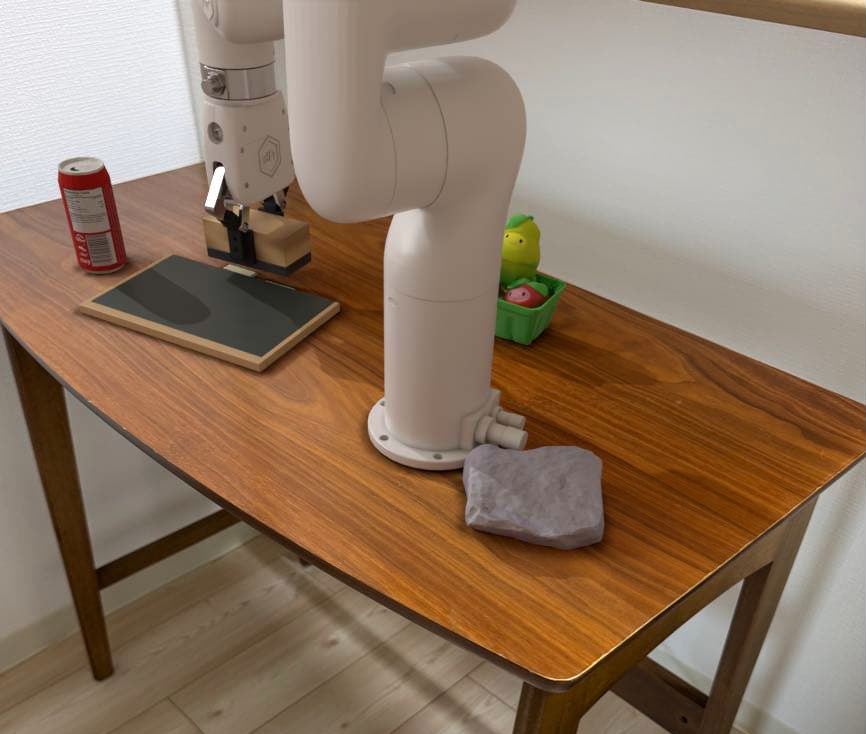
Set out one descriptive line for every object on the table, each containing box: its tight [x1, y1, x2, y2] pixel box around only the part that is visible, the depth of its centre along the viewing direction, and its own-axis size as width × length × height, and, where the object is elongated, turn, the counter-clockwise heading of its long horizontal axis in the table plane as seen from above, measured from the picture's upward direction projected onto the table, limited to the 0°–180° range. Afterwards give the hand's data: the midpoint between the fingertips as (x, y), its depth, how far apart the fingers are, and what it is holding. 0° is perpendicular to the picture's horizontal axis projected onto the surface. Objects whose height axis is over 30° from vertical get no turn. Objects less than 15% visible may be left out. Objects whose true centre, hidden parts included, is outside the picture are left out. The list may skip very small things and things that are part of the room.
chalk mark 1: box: [222, 264, 257, 278], centre depth 107 cm, size 4×1×1 cm, turn 61°
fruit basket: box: [494, 213, 567, 346], centre depth 96 cm, size 11×9×11 cm
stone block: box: [462, 444, 605, 551], centre depth 75 cm, size 12×5×10 cm
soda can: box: [57, 156, 128, 275], centre depth 103 cm, size 6×6×12 cm
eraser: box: [201, 205, 312, 278], centre depth 102 cm, size 11×5×4 cm, turn 62°
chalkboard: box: [78, 253, 341, 373], centre depth 99 cm, size 24×15×1 cm, turn 62°
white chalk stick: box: [265, 280, 296, 290], centre depth 104 cm, size 4×1×1 cm, turn 62°
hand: (259, 251), depth 103 cm, fingers closed on eraser, 5 cm apart
